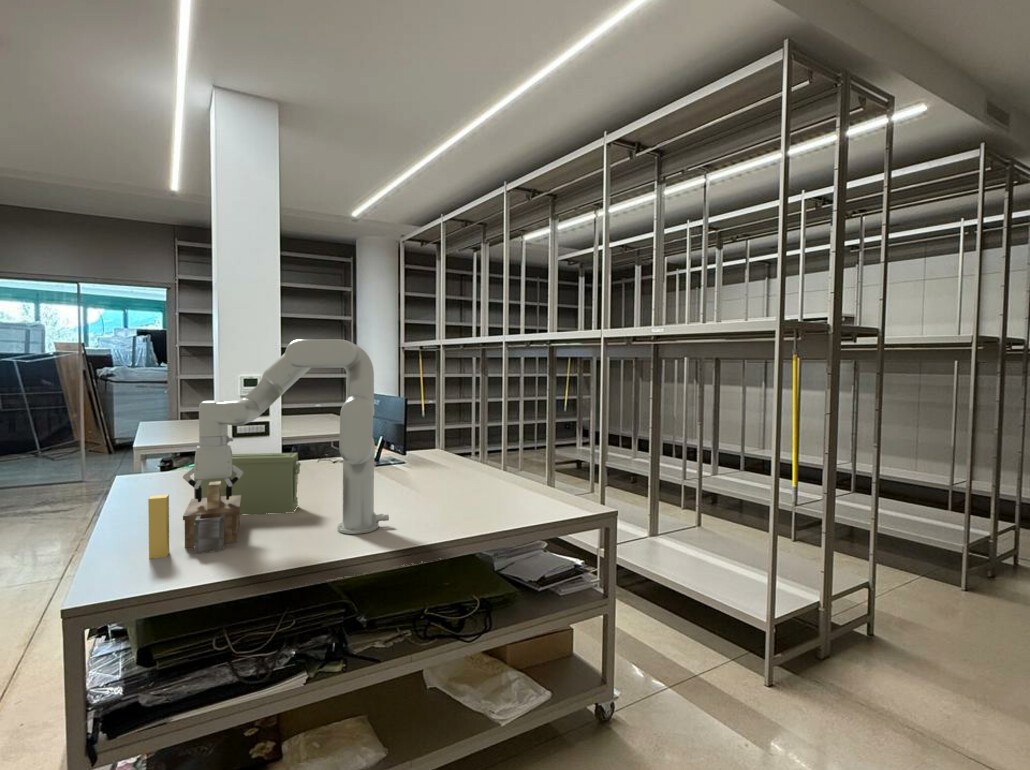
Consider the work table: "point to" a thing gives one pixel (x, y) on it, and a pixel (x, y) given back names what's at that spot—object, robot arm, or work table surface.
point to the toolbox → (211, 534)
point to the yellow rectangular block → (158, 526)
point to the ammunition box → (263, 482)
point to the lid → (213, 506)
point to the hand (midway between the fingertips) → (213, 499)
